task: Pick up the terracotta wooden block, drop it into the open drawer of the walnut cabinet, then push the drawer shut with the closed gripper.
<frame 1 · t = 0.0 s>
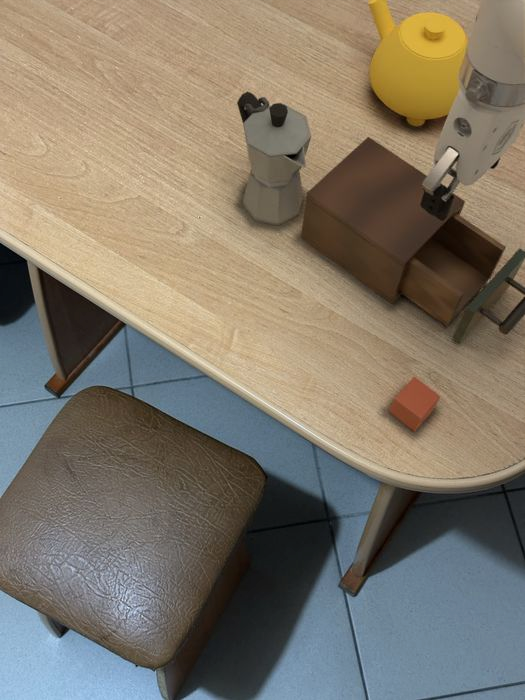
hand: (458, 186, 93), 21 cm above the table, tool pointing down, fingers open, 9 cm apart
teapot: (406, 88, 129), on the table
coffee maker: (268, 196, 119), on the table
drawer: (460, 275, 107), point 5 cm above the table, slide at 9.0 cm
cabinet: (374, 241, 115), on the table
block: (411, 410, 104), on the table
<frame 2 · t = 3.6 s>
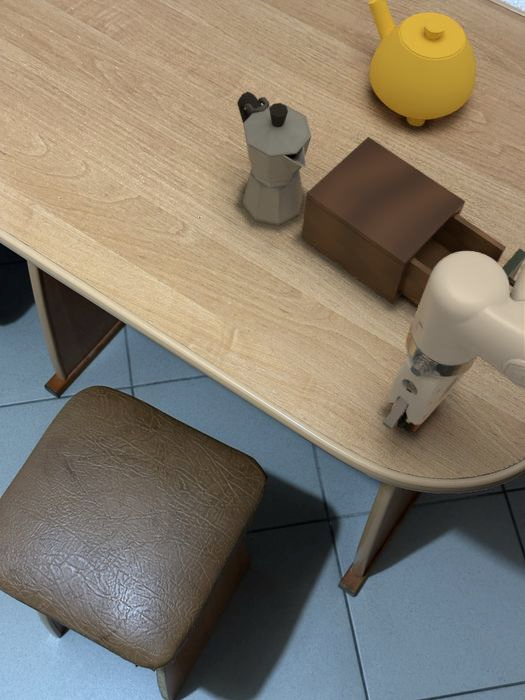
hand: (411, 409, 104), 0 cm above the table, tool pointing down, fingers closed on block, 4 cm apart
block: (411, 410, 104), on the table, touching gripper
everything else where it was.
when the fingers open (10 cm above the table, at t = 8.9 s): block drops 7 cm, resting on drawer.
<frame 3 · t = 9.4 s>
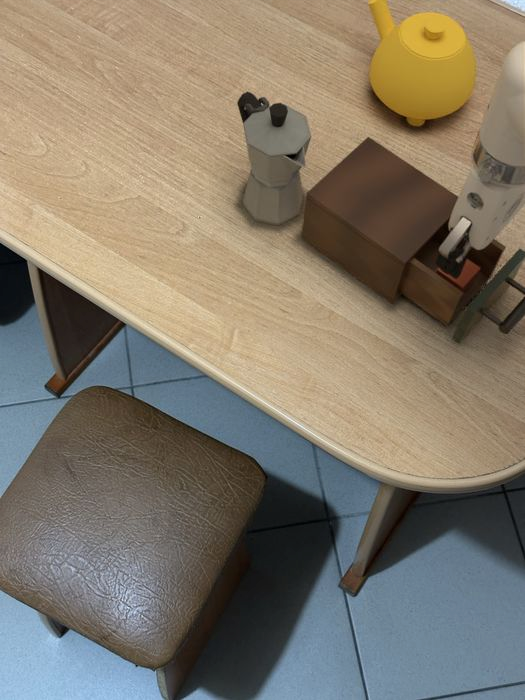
hand: (470, 245, 102), 11 cm above the table, tool pointing down, fingers open, 9 cm apart
drawer: (460, 275, 107), point 5 cm above the table, slide at 9.0 cm, touching block
block: (451, 285, 110), point 2 cm above the table, touching drawer
everything else where it was.
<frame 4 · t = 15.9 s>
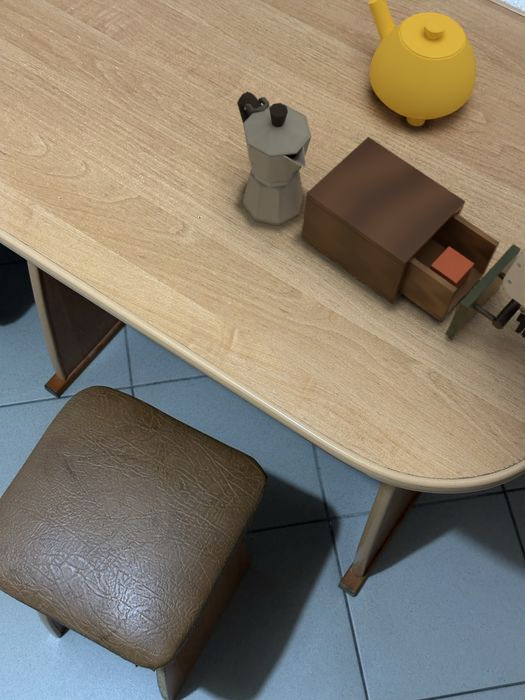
drawer: (453, 271, 108), point 5 cm above the table, slide at 8.0 cm, touching block, gripper
everything else where it was.
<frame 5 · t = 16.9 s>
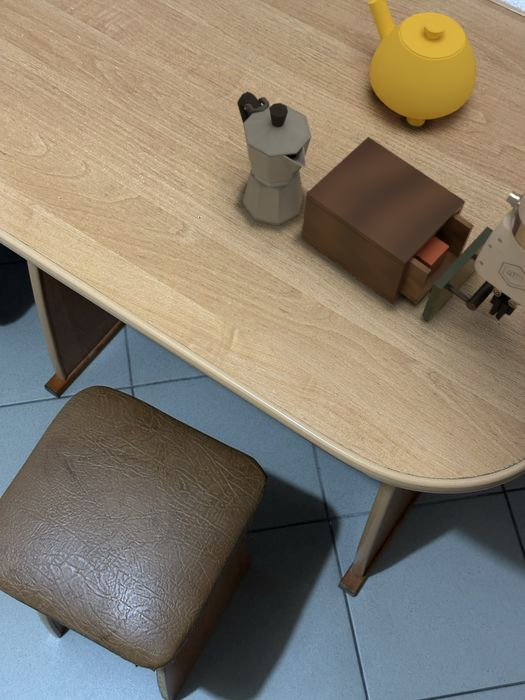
hand: (500, 309, 106), 4 cm above the table, tool pointing down, fingers closed
drawer: (429, 254, 109), point 5 cm above the table, slide at 4.1 cm, touching block, gripper
block: (421, 264, 111), point 2 cm above the table, touching drawer
everything else where it was.
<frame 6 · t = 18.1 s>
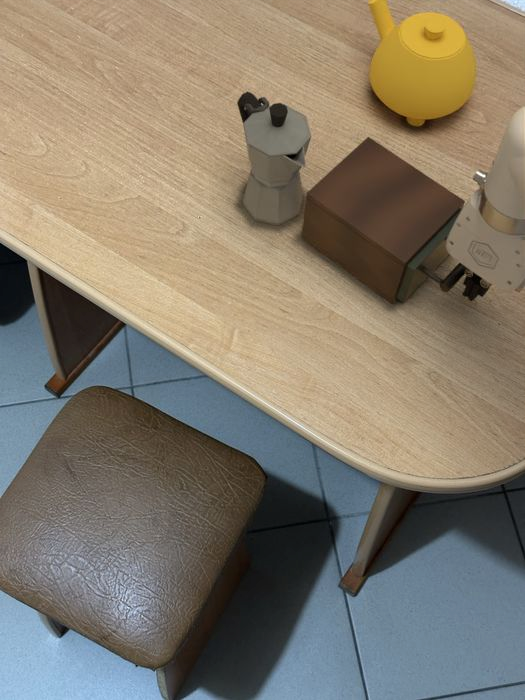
hand: (473, 291, 108), 4 cm above the table, tool pointing down, fingers closed
drawer: (404, 236, 110), point 5 cm above the table, slide at 0.0 cm, touching block, cabinet, gripper
block: (397, 246, 113), point 2 cm above the table, touching drawer
everything else where it was.
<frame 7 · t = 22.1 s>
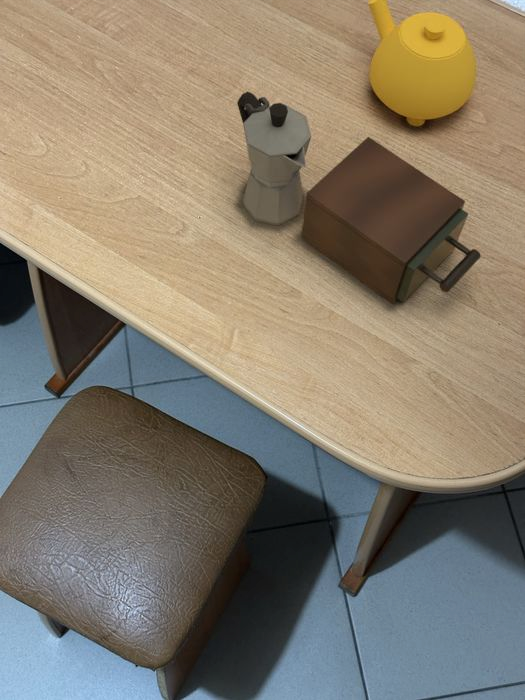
drawer: (404, 236, 110), point 5 cm above the table, slide at 0.0 cm, touching block
everything else where it was.
at the end: block inside the target area in the cabinet (3.4 cm from its centre), point 2.1 cm above the cabinet's base; drawer slide at 0.0 cm; teapot moved 0.2 cm from its start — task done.
